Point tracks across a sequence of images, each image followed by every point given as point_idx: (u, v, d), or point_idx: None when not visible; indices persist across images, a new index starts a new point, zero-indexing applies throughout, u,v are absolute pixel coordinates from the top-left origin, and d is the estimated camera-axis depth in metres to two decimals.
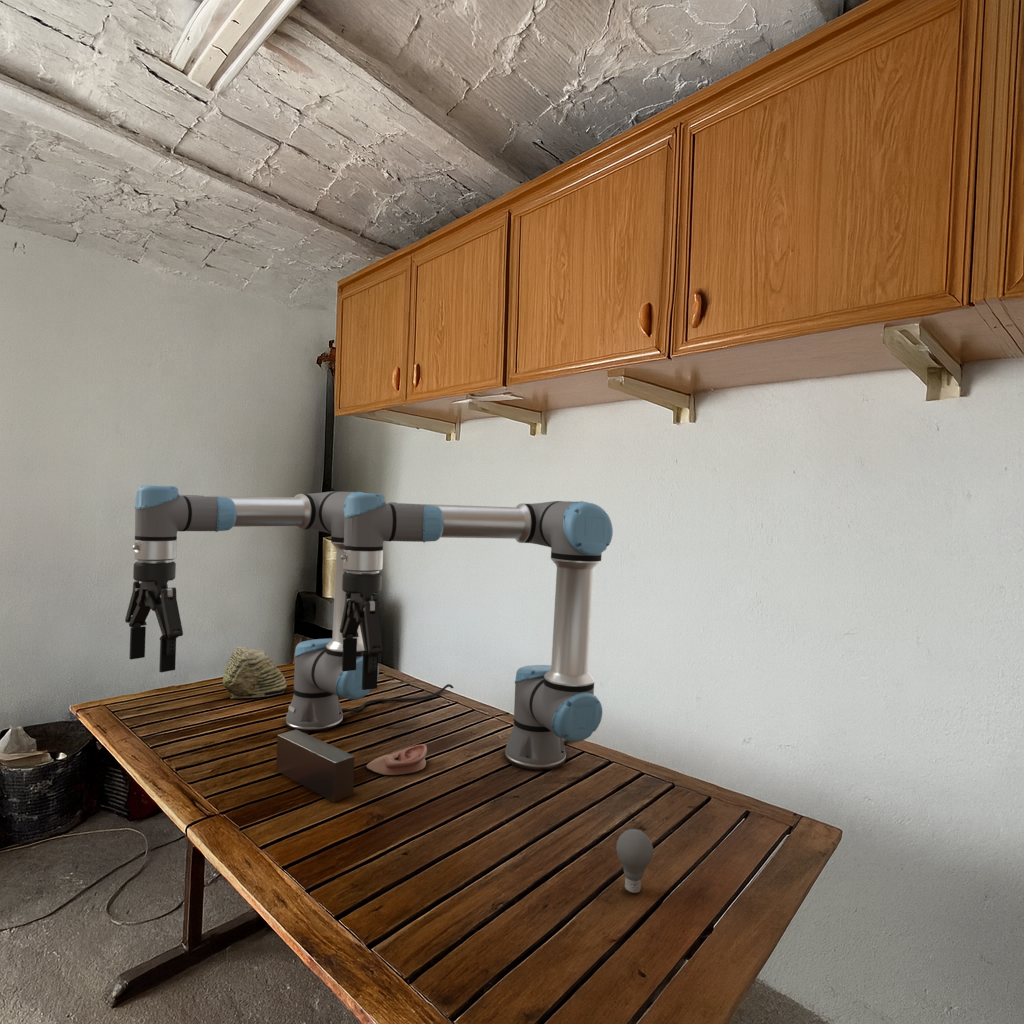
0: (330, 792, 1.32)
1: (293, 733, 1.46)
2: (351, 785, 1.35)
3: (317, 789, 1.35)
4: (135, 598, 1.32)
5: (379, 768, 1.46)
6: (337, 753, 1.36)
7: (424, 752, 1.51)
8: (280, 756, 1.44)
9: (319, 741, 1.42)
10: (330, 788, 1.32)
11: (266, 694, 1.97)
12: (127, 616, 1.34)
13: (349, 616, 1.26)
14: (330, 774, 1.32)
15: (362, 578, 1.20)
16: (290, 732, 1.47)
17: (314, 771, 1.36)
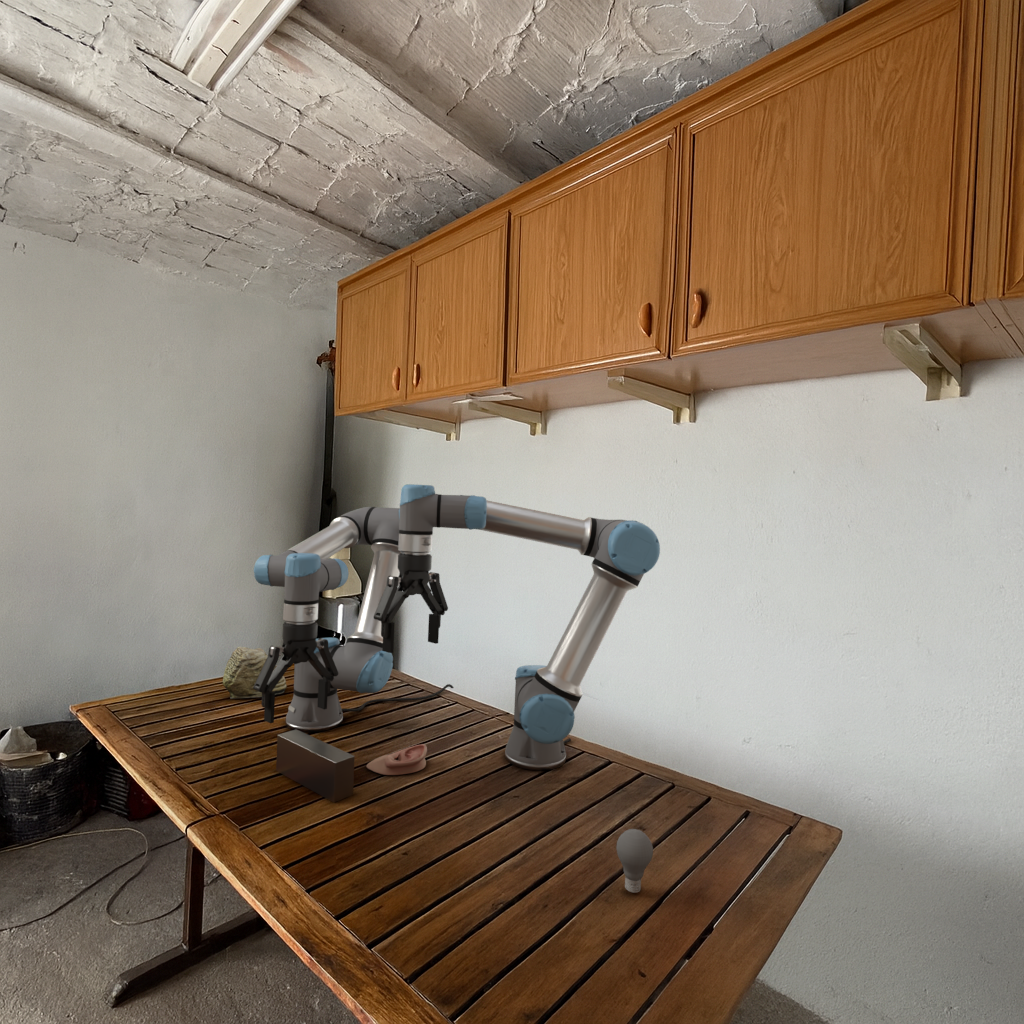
0: (330, 792, 1.32)
1: (293, 733, 1.46)
2: (351, 785, 1.35)
3: (317, 789, 1.35)
4: None
5: (379, 768, 1.46)
6: (337, 753, 1.36)
7: (424, 752, 1.51)
8: (280, 756, 1.44)
9: (319, 741, 1.42)
10: (330, 788, 1.32)
11: None
12: (263, 685, 1.36)
13: None
14: (330, 774, 1.32)
15: None
16: (290, 732, 1.47)
17: (314, 771, 1.36)
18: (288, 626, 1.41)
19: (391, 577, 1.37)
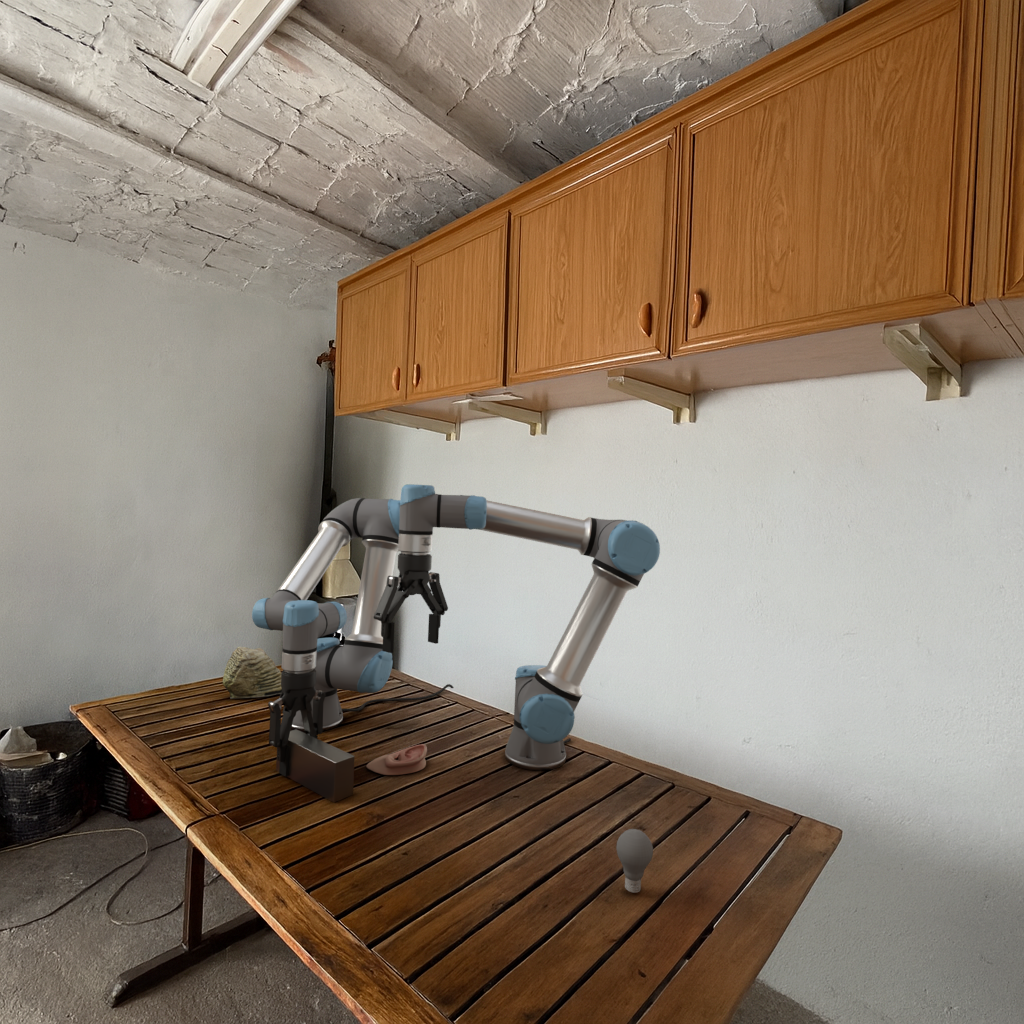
0: (330, 792, 1.32)
1: (293, 733, 1.46)
2: (351, 785, 1.35)
3: (317, 789, 1.35)
4: None
5: (379, 768, 1.46)
6: (337, 753, 1.36)
7: (424, 752, 1.51)
8: None
9: (319, 741, 1.42)
10: (330, 788, 1.32)
11: (266, 694, 1.97)
12: (277, 740, 1.39)
13: None
14: (330, 774, 1.32)
15: None
16: (290, 732, 1.47)
17: (314, 771, 1.36)
18: (287, 675, 1.41)
19: (391, 577, 1.37)
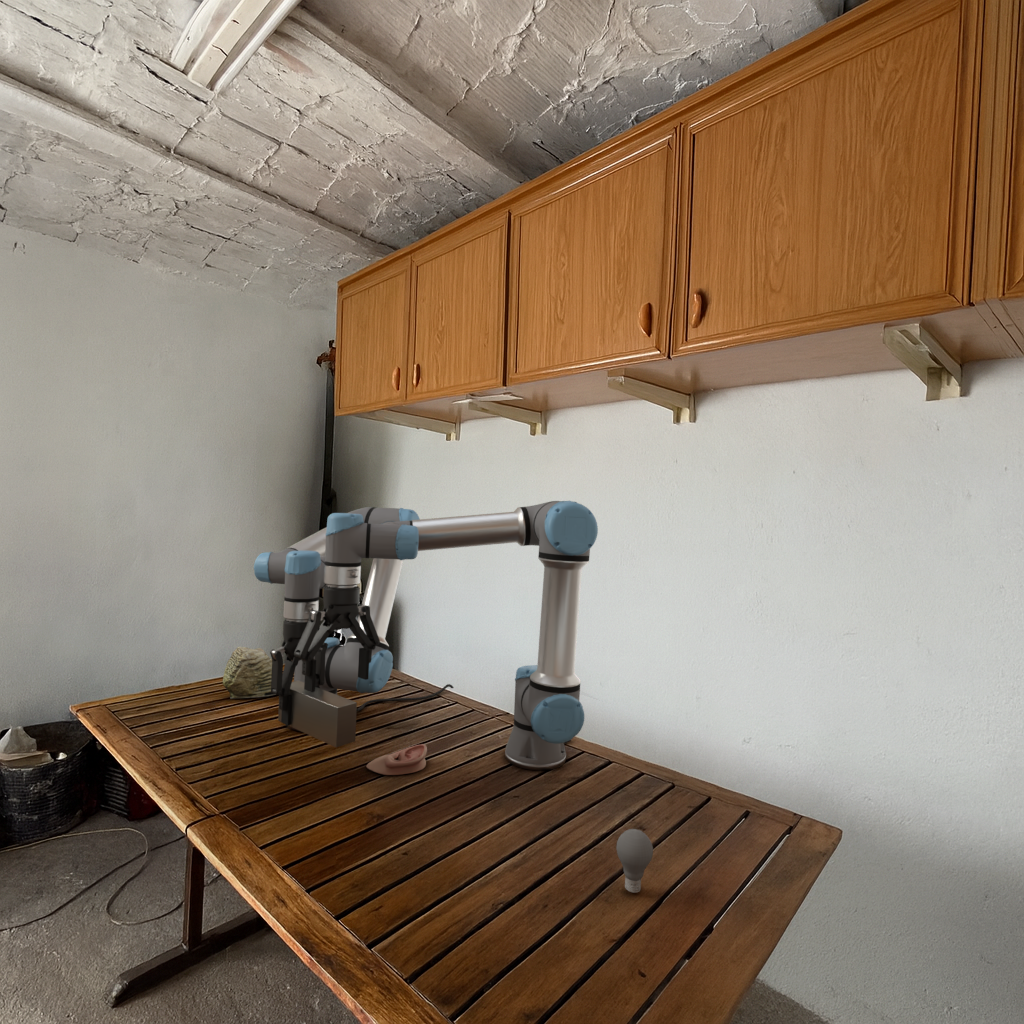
0: (332, 737, 1.32)
1: (295, 683, 1.46)
2: (353, 731, 1.35)
3: (319, 736, 1.35)
4: None
5: (379, 768, 1.46)
6: (339, 699, 1.36)
7: (424, 752, 1.51)
8: None
9: (321, 690, 1.42)
10: (332, 733, 1.32)
11: (266, 694, 1.97)
12: (279, 688, 1.39)
13: None
14: (332, 719, 1.32)
15: None
16: (292, 683, 1.46)
17: (317, 718, 1.36)
18: (288, 624, 1.41)
19: (314, 612, 1.30)
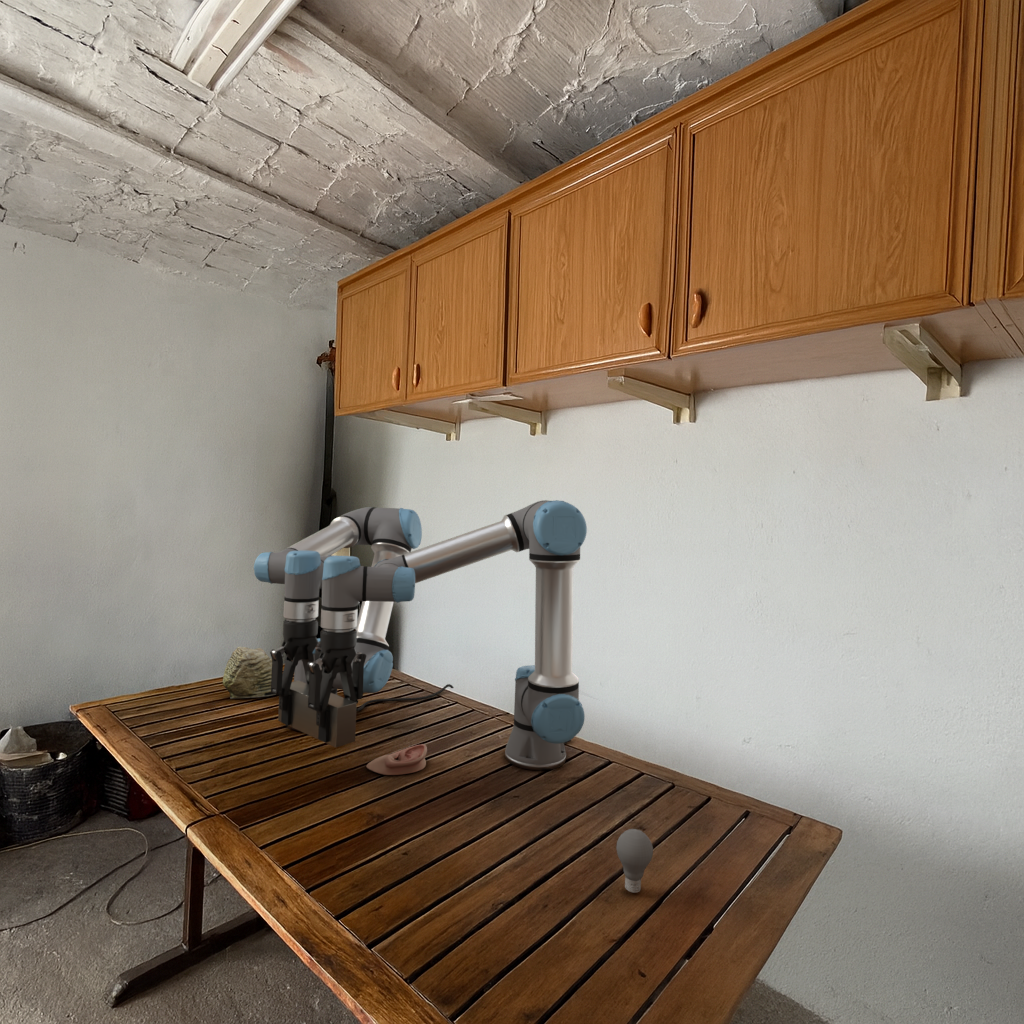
0: (332, 737, 1.32)
1: (295, 683, 1.46)
2: (353, 731, 1.35)
3: None
4: None
5: (379, 768, 1.46)
6: (339, 700, 1.36)
7: (424, 752, 1.51)
8: None
9: None
10: (332, 733, 1.32)
11: (266, 694, 1.97)
12: (279, 688, 1.39)
13: None
14: (332, 720, 1.32)
15: None
16: (292, 683, 1.46)
17: None
18: (288, 623, 1.41)
19: (310, 665, 1.30)
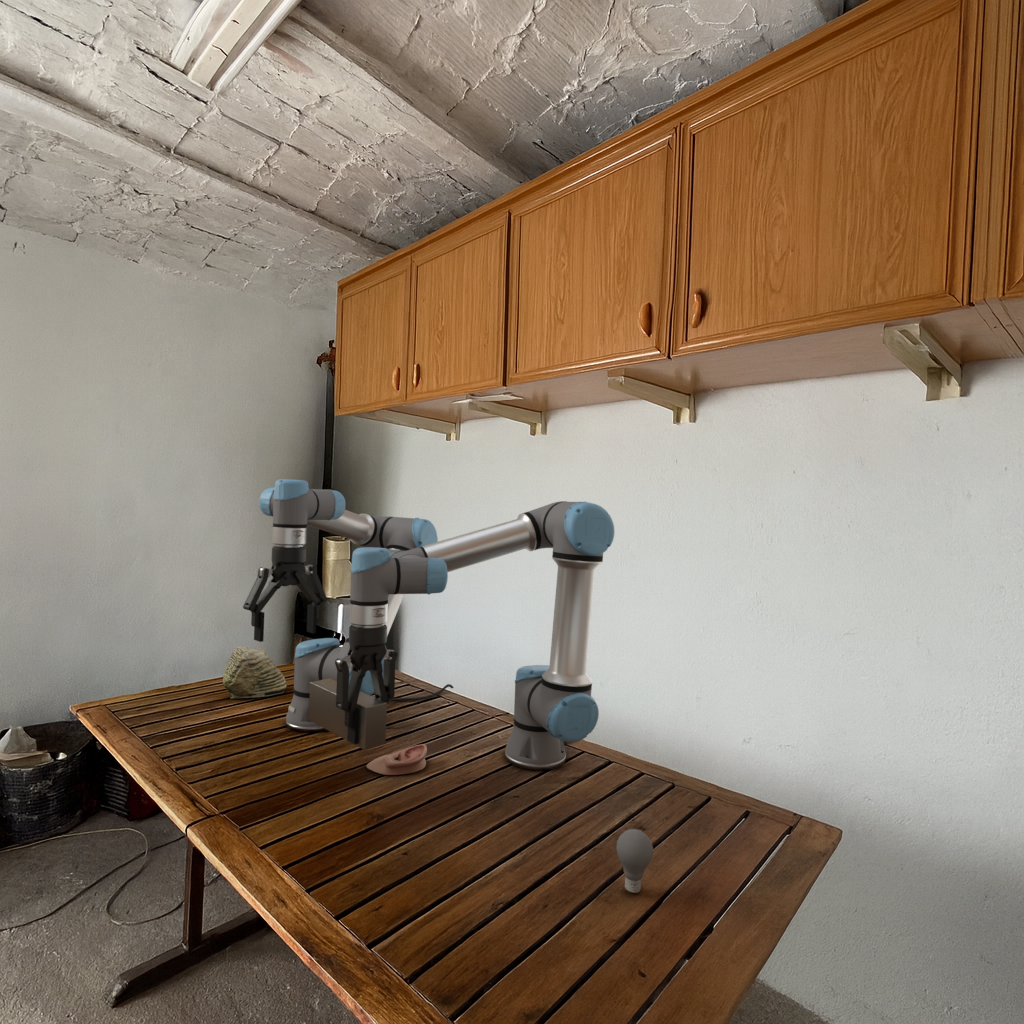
0: (361, 739, 1.25)
1: (326, 681, 1.40)
2: (383, 733, 1.27)
3: None
4: None
5: (379, 768, 1.46)
6: (369, 699, 1.29)
7: (424, 752, 1.51)
8: (312, 704, 1.38)
9: None
10: (361, 735, 1.25)
11: (266, 694, 1.97)
12: (253, 604, 1.40)
13: None
14: (360, 720, 1.25)
15: None
16: (323, 680, 1.40)
17: None
18: (277, 549, 1.44)
19: (338, 662, 1.23)
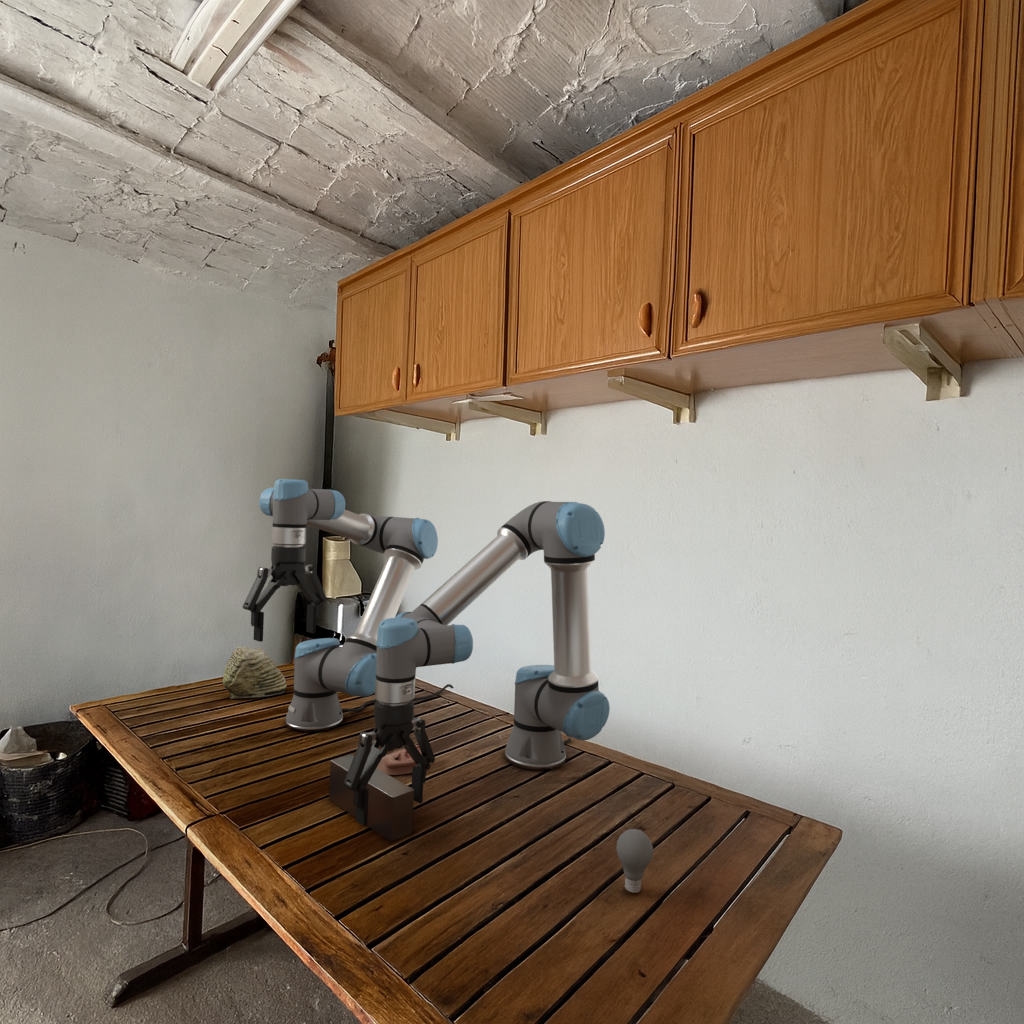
0: (387, 830, 1.18)
1: (347, 759, 1.33)
2: (410, 822, 1.21)
3: (373, 825, 1.22)
4: None
5: (379, 768, 1.46)
6: (395, 785, 1.22)
7: None
8: (333, 784, 1.31)
9: (375, 770, 1.29)
10: (387, 825, 1.18)
11: (266, 694, 1.97)
12: (252, 604, 1.40)
13: None
14: (387, 810, 1.19)
15: None
16: (344, 758, 1.34)
17: (370, 805, 1.22)
18: (276, 548, 1.44)
19: (364, 735, 1.17)
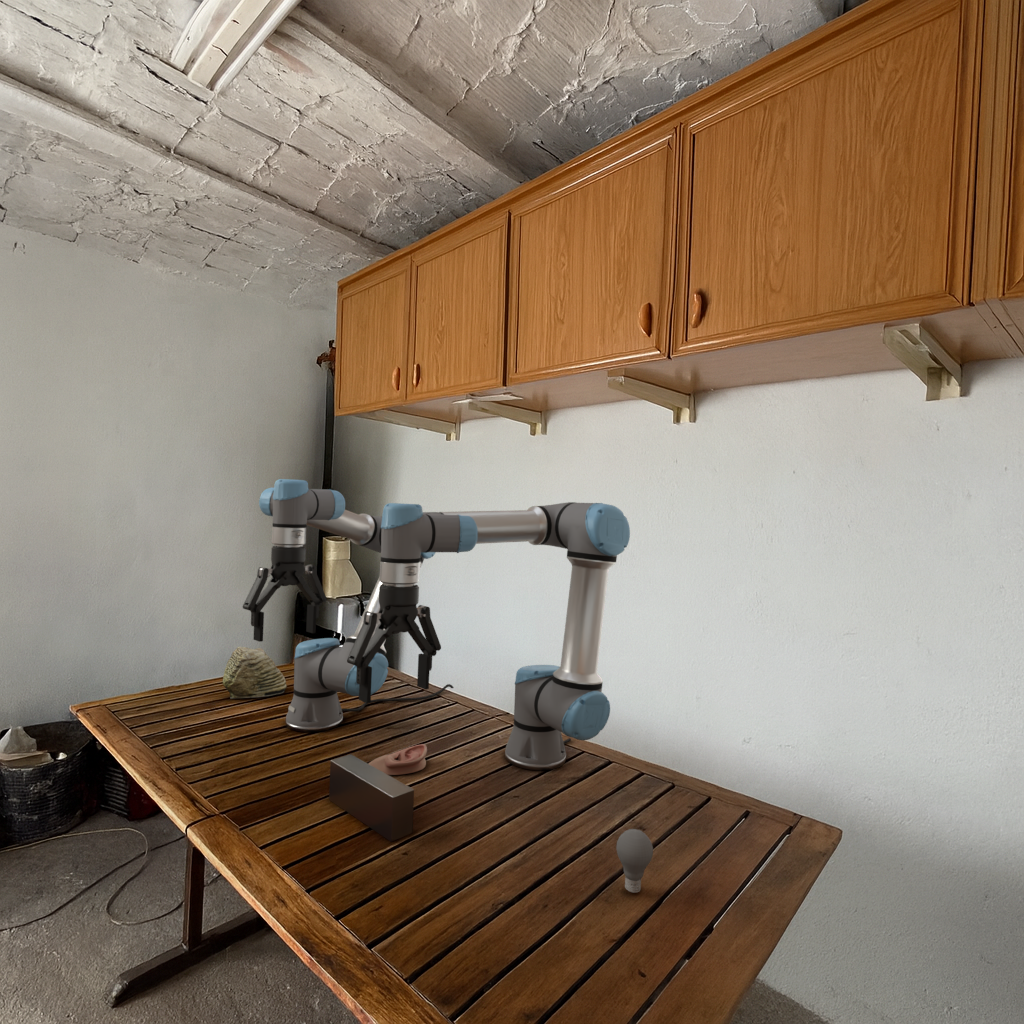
0: (387, 830, 1.18)
1: (347, 759, 1.33)
2: (410, 822, 1.21)
3: (373, 825, 1.22)
4: None
5: (379, 768, 1.46)
6: (395, 785, 1.22)
7: (424, 752, 1.51)
8: (333, 784, 1.31)
9: (375, 770, 1.29)
10: (387, 825, 1.18)
11: (266, 694, 1.97)
12: (252, 604, 1.40)
13: None
14: (387, 810, 1.19)
15: None
16: (344, 758, 1.34)
17: (370, 805, 1.22)
18: (276, 548, 1.44)
19: (368, 613, 1.16)
